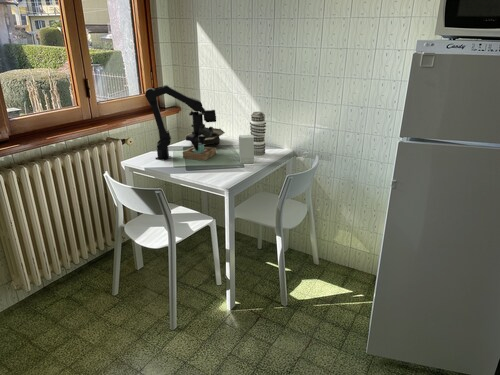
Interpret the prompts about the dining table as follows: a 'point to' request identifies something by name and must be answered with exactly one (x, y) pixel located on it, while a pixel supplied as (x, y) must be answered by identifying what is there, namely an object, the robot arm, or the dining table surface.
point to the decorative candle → (258, 133)
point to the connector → (200, 148)
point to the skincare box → (246, 148)
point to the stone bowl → (213, 137)
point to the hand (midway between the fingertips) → (199, 149)
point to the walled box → (198, 156)
